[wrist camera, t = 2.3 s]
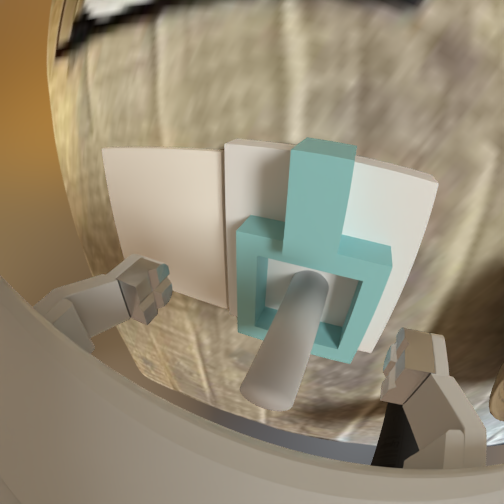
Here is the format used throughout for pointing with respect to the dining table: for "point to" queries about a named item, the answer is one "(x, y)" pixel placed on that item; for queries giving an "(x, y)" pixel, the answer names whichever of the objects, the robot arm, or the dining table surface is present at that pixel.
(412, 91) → the dining table surface
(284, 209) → the post stand
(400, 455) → the drinking cup
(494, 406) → the bowl
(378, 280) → the teal square ring handle
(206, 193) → the mat
